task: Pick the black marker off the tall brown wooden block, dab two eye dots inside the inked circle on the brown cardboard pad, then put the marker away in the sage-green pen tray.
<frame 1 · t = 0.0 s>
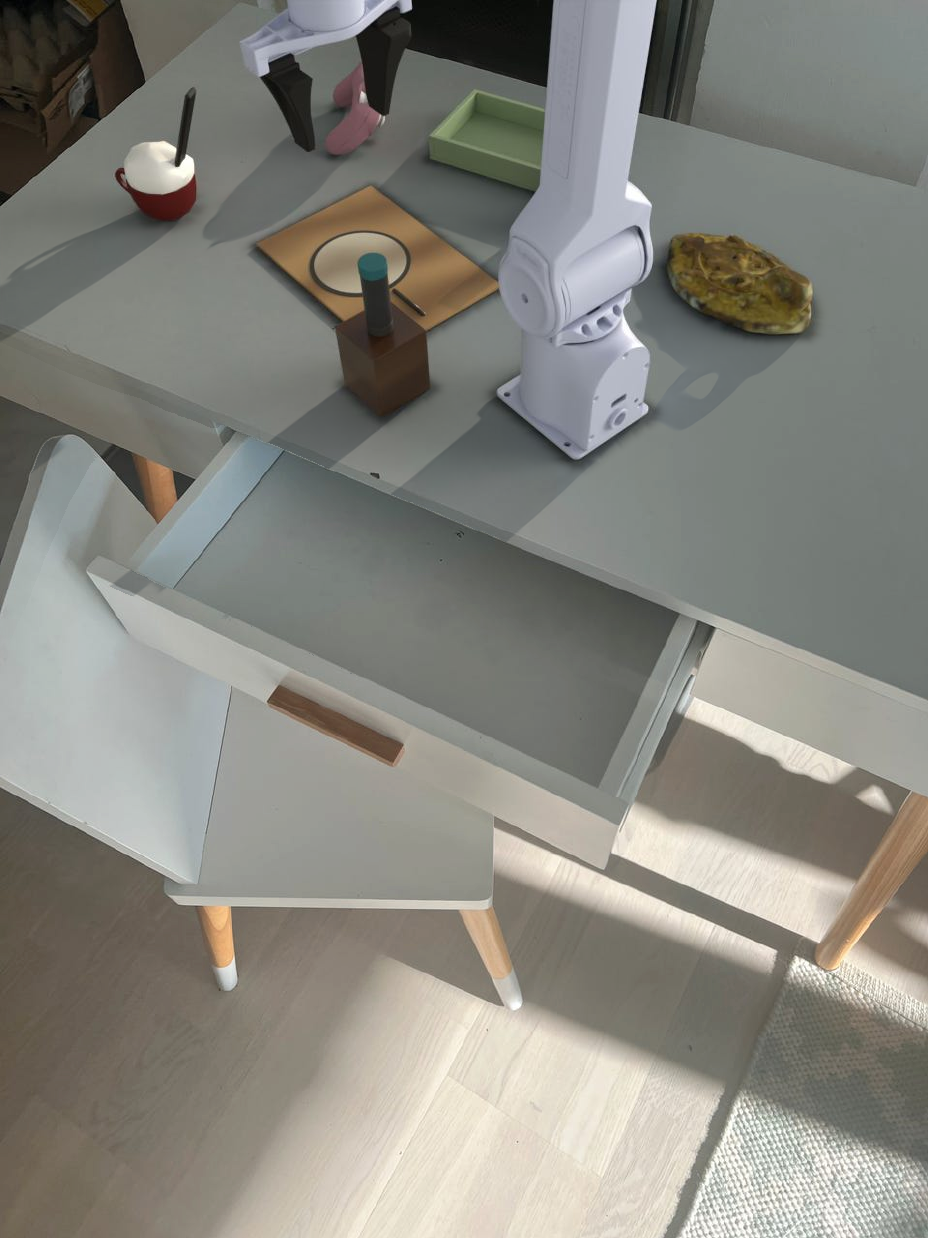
hand: (342, 127, 83), 10 cm above the table, tool pointing down, fingers open, 7 cm apart
drawing pad: (376, 266, 89), on the table
cocoa: (175, 213, 94), on the table
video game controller: (360, 131, 101), on the table
marker: (380, 328, 76), point 6 cm above the table, touching tall brown wooden block
tall brown wooden block: (387, 386, 81), on the table
stuffed pastry: (735, 290, 86), on the table
pen tray: (519, 154, 97), on the table
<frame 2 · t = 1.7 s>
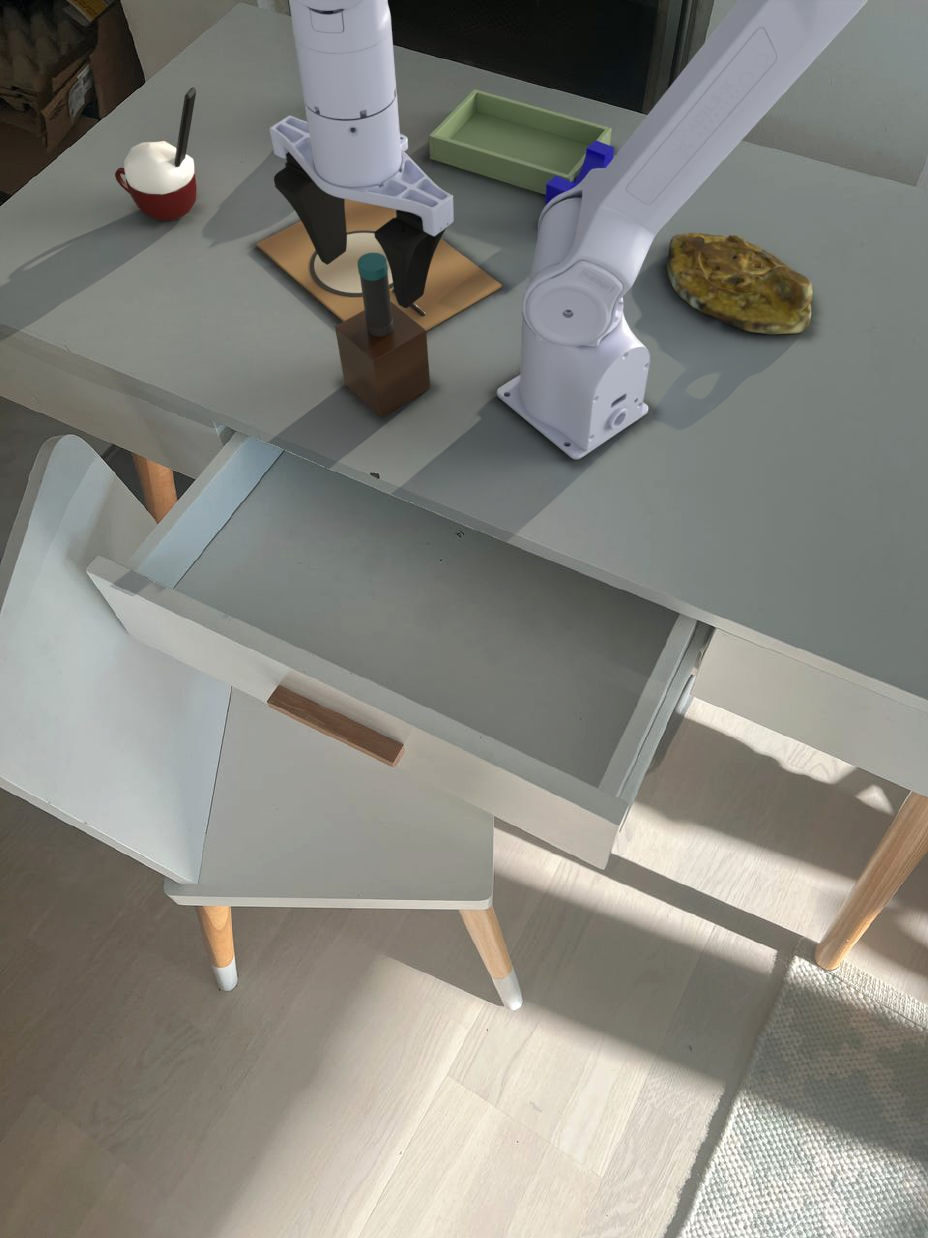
hand: (371, 277, 73), 10 cm above the table, tool pointing down, fingers open, 7 cm apart
nothing on the table moved.
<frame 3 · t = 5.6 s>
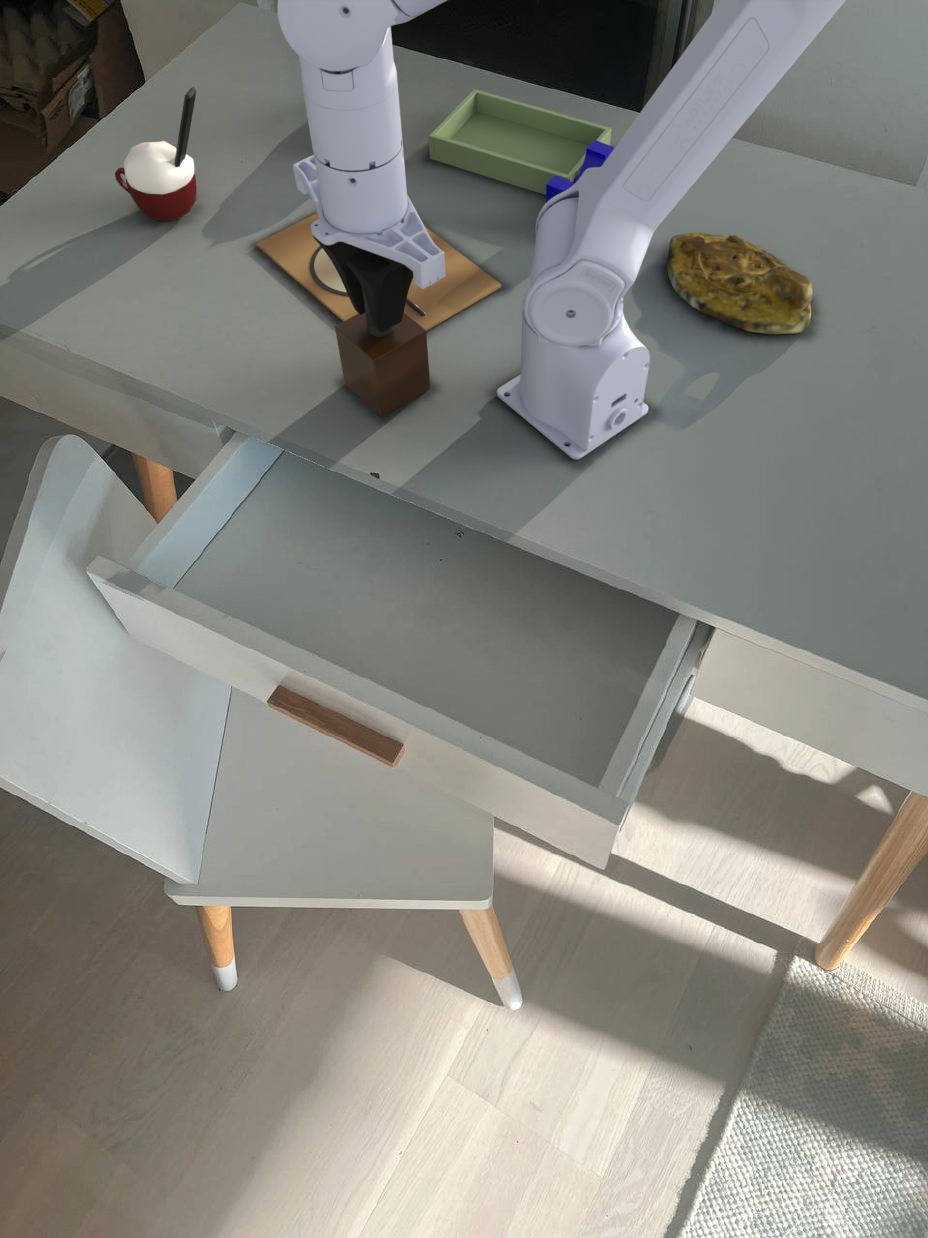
hand: (378, 315, 75), 7 cm above the table, tool pointing down, fingers closed on marker, 2 cm apart
marker: (380, 328, 76), point 6 cm above the table, touching gripper, tall brown wooden block
everything else where it was.
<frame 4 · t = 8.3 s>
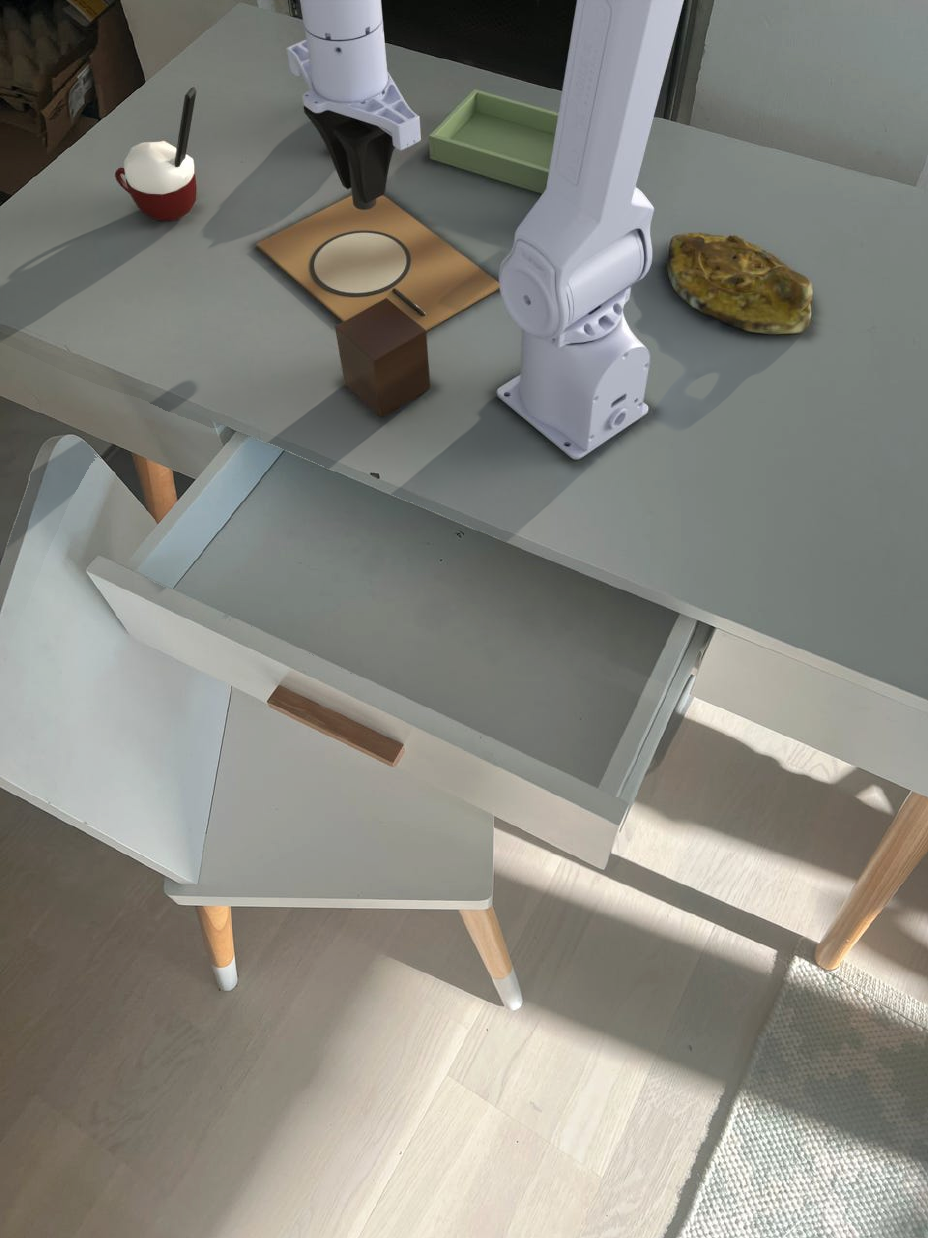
hand: (363, 189, 84), 7 cm above the table, tool pointing down, fingers closed on marker, 2 cm apart
marker: (364, 202, 85), point 6 cm above the table, touching gripper
everything else where it was.
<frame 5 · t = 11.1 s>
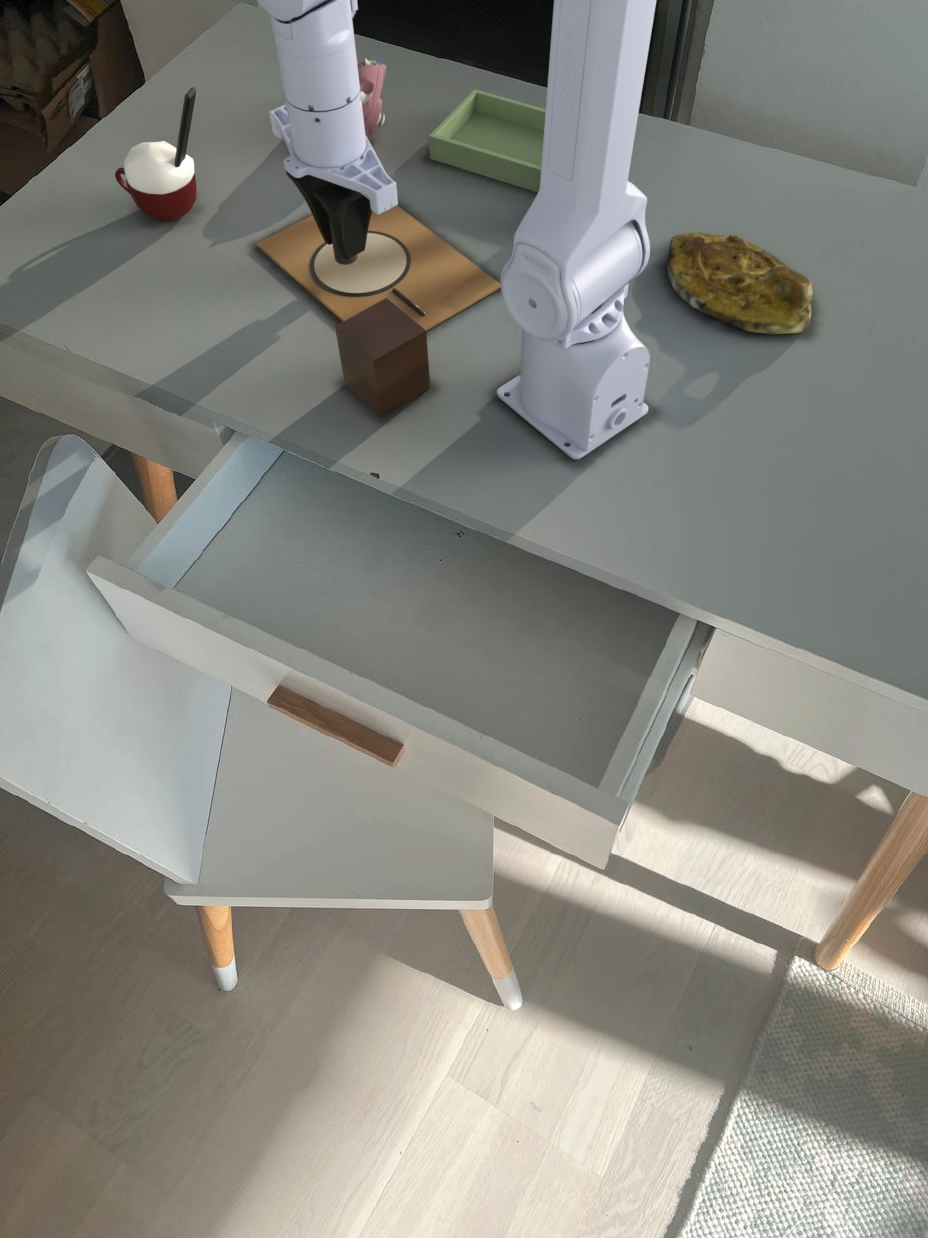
hand: (344, 245, 86), 3 cm above the table, tool pointing down, fingers closed on marker, 2 cm apart
marker: (346, 257, 87), point 2 cm above the table, touching gripper
everything else where it was.
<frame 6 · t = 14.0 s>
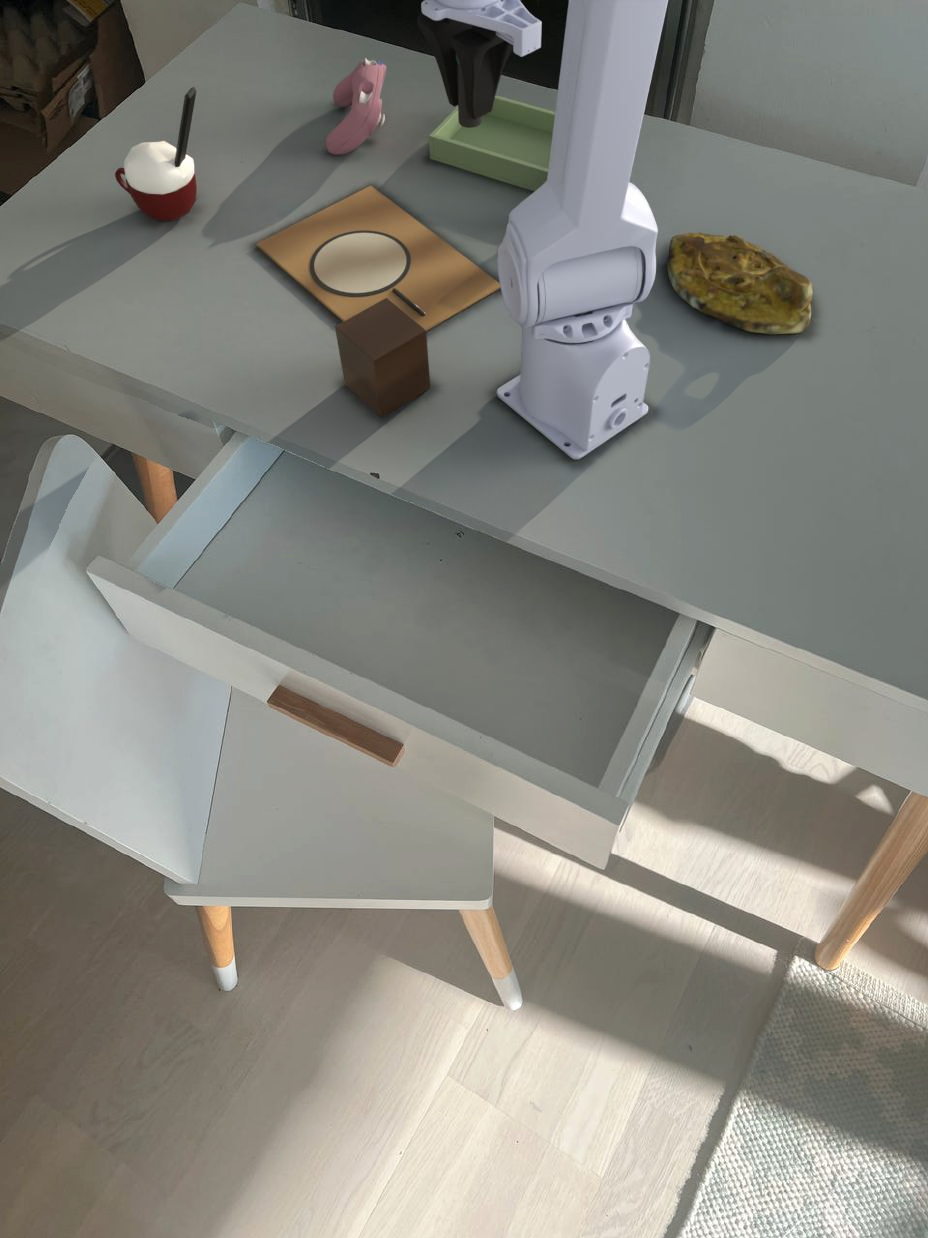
hand: (470, 106, 84), 10 cm above the table, tool pointing down, fingers closed on marker
marker: (470, 121, 85), point 9 cm above the table, touching gripper
everything else where it was.
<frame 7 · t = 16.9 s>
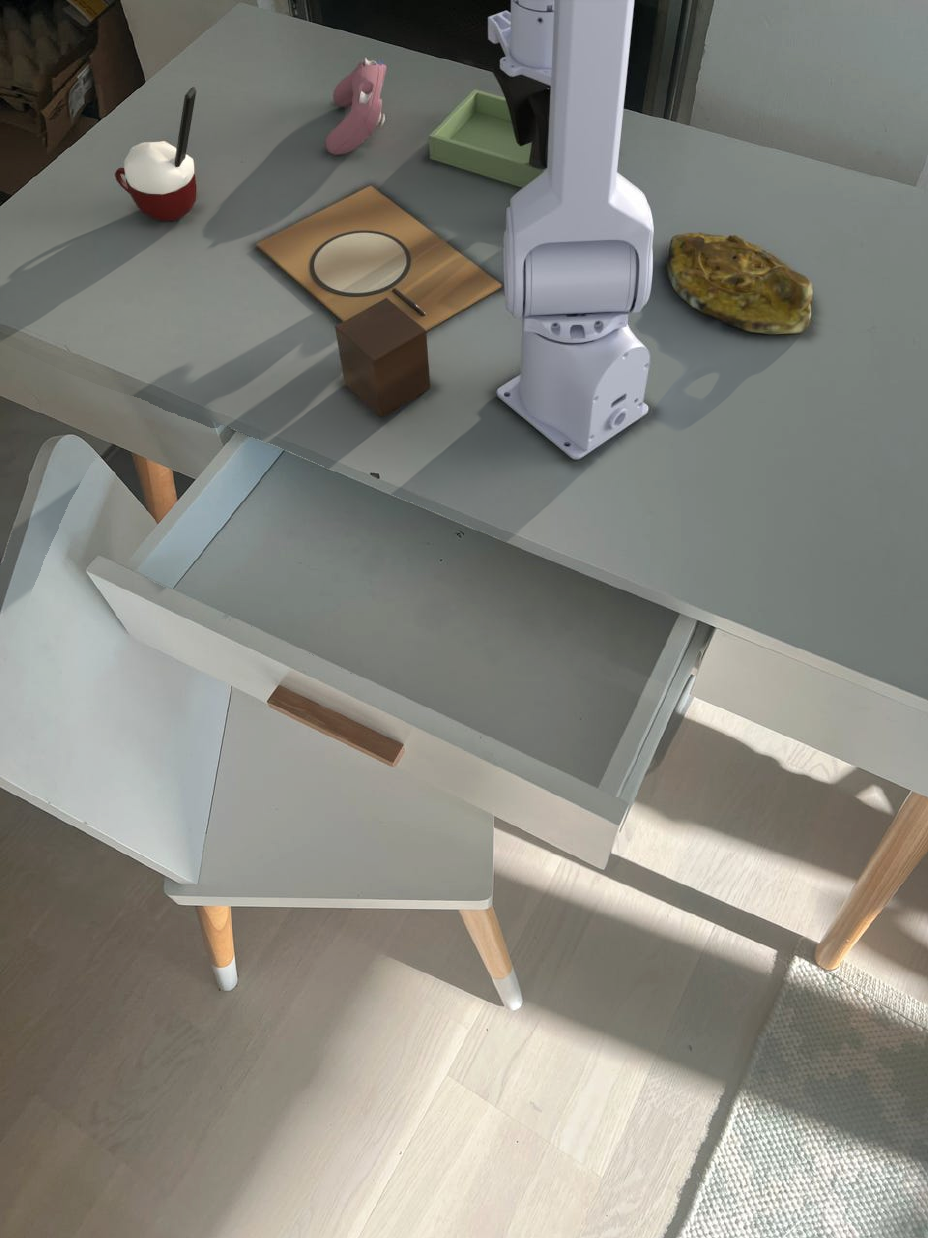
hand: (540, 151, 92), 4 cm above the table, tool pointing down, fingers open, 3 cm apart
marker: (539, 164, 93), point 2 cm above the table, tilted 17°, touching gripper, pen tray
everything else where it was.
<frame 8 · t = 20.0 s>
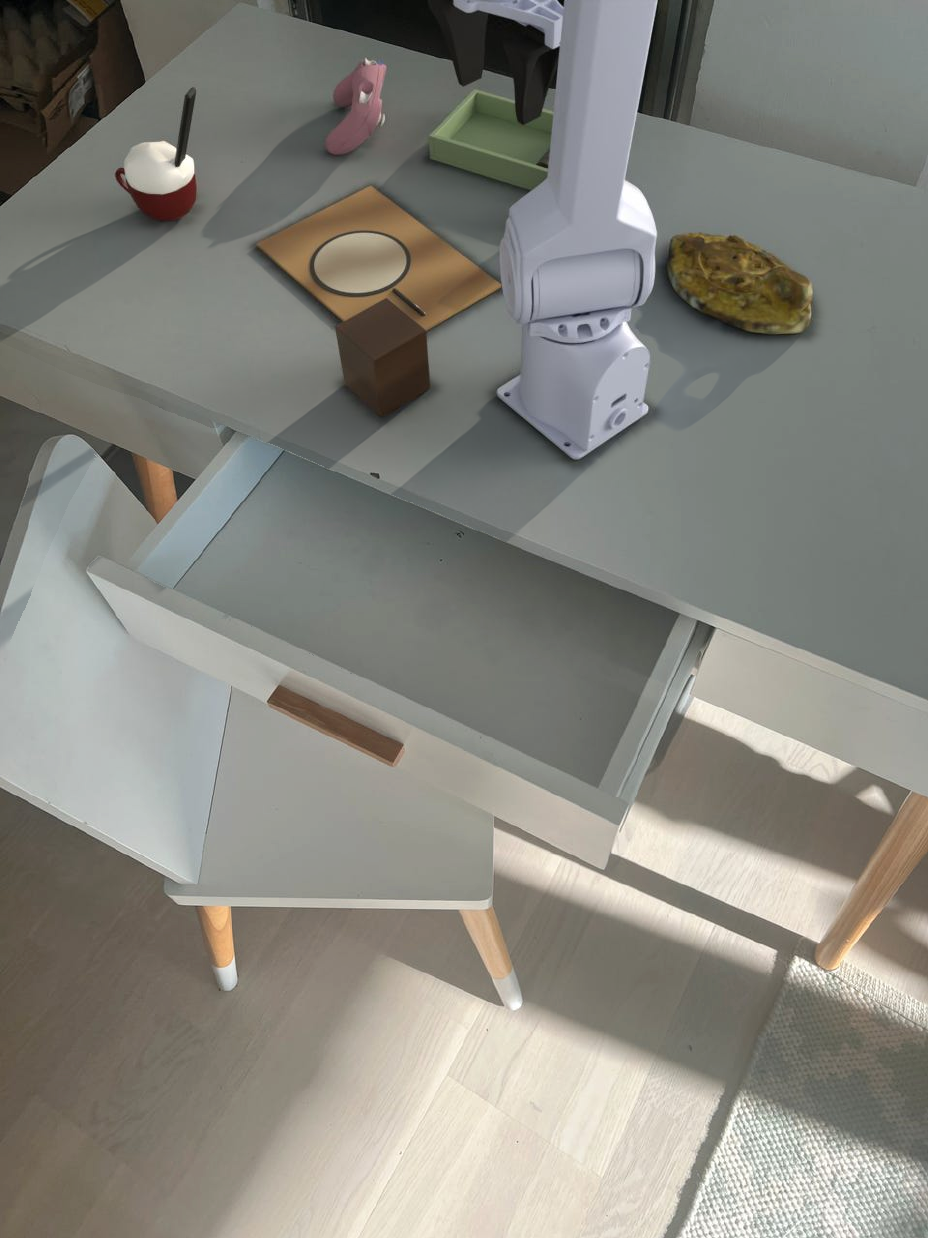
hand: (499, 99, 84), 10 cm above the table, tool pointing down, fingers open, 7 cm apart
marker: (543, 172, 93), point 1 cm above the table, tilted 89°, touching pen tray
everything else where it was.
at the end: marker 5.4 cm from the pen tray (horizontally); marker point 1.4 cm above the table; the gripper is holding nothing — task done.
